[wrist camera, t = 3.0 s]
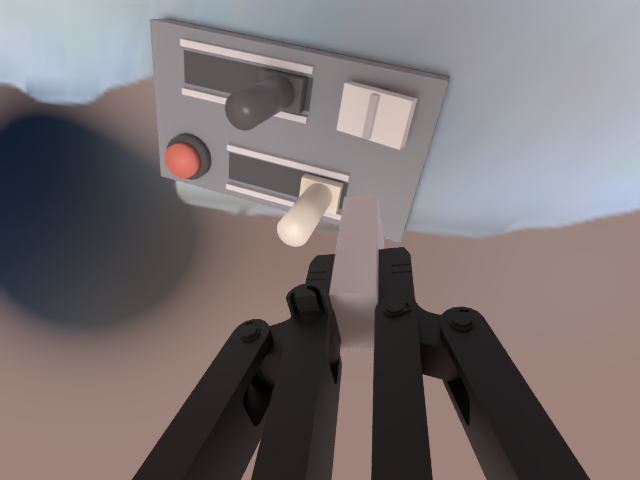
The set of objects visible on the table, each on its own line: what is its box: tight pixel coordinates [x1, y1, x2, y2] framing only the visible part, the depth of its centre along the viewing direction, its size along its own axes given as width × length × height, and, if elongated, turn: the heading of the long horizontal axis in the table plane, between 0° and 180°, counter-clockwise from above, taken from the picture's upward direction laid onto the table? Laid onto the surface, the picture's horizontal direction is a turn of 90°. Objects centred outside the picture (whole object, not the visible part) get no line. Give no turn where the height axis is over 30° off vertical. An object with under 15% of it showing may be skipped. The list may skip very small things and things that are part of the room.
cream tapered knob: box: [277, 173, 344, 246], centre depth 38 cm, size 4×3×9 cm
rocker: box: [337, 81, 417, 150], centre depth 34 cm, size 6×4×2 cm, turn 82°
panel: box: [150, 19, 450, 243], centre depth 40 cm, size 28×16×5 cm, turn 82°
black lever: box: [225, 69, 307, 131], centre depth 34 cm, size 4×3×9 cm
